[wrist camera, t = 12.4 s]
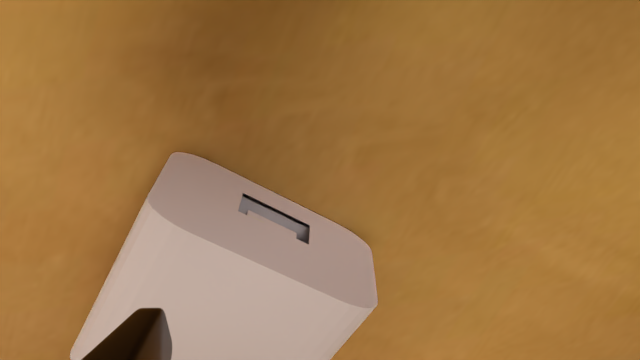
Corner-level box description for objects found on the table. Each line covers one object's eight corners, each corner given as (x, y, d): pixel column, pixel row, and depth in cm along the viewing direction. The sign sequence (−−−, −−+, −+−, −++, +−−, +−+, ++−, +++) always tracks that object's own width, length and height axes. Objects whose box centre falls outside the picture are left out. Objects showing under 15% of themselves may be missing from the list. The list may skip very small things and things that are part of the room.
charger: (66, 364, 27) (177, 143, 21) (226, 421, 29) (371, 239, 23) (20, 450, 23) (140, 208, 17) (210, 509, 25) (380, 317, 19)
